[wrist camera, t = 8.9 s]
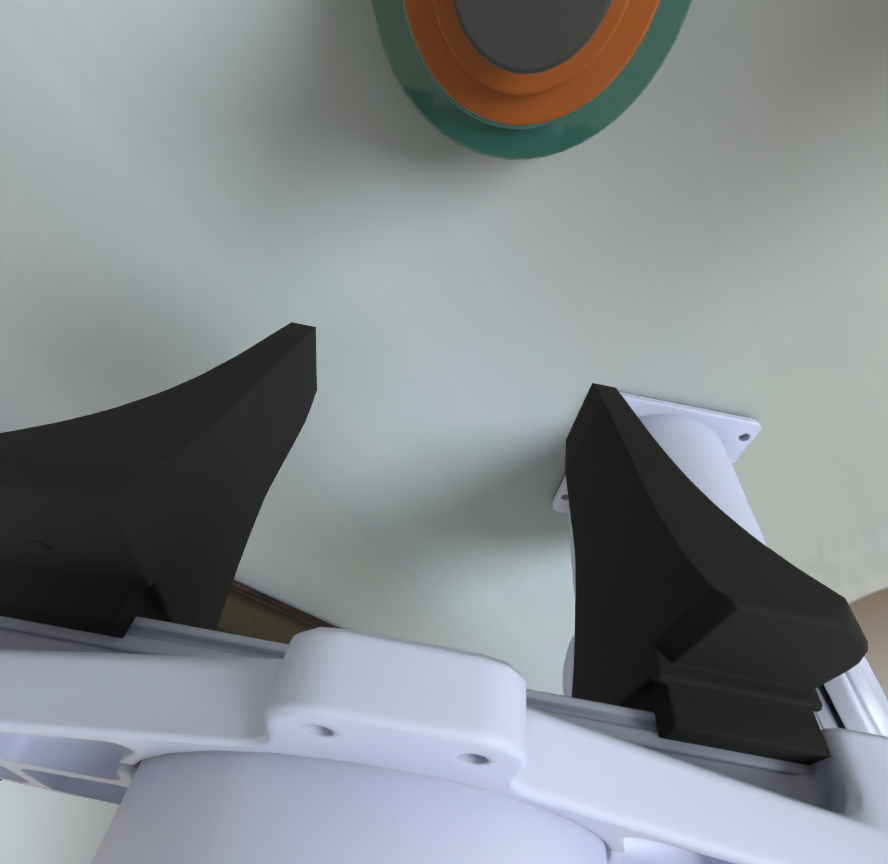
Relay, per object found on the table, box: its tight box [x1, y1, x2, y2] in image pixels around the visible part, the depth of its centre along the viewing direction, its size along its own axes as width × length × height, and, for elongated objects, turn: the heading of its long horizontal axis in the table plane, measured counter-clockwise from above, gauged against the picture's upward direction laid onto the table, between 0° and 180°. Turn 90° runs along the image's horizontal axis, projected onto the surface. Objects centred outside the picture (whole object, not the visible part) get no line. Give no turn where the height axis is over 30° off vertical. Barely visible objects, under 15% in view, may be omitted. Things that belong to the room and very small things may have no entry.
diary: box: [216, 582, 335, 645], centre depth 49 cm, size 19×25×5 cm
